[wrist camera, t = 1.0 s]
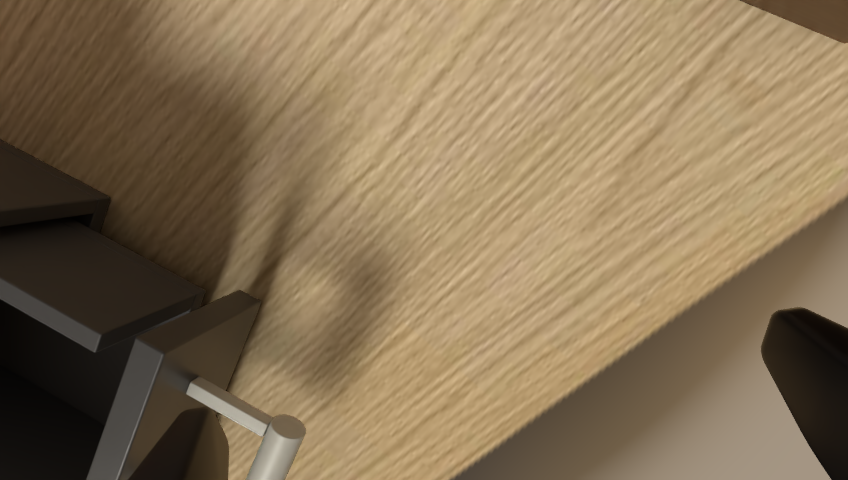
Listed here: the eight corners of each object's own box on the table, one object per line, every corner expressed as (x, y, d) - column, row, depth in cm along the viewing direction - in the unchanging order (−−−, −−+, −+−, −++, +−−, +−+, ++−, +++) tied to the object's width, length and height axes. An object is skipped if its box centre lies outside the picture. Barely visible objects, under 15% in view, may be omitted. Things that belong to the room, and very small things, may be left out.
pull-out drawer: (358, 352, 25) (292, 424, 18) (275, 534, 27) (189, 656, 21) (36, 180, 27) (-127, 190, 20) (-16, 363, 29) (-177, 425, 23)
